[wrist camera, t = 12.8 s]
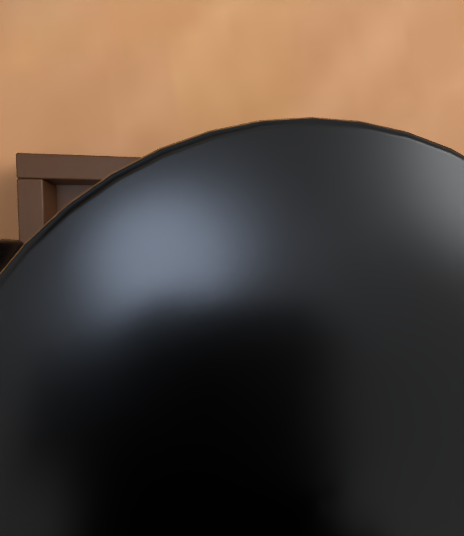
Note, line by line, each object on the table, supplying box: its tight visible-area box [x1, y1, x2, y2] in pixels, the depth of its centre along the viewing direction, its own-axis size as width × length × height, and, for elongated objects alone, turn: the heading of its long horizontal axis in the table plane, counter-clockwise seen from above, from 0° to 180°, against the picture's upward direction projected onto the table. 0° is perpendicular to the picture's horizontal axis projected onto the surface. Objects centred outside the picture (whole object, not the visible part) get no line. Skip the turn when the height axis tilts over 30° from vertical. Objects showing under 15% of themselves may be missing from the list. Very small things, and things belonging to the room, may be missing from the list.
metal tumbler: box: [0, 117, 464, 536], centre depth 9 cm, size 6×6×12 cm
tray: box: [16, 153, 141, 243], centre depth 15 cm, size 17×13×2 cm
